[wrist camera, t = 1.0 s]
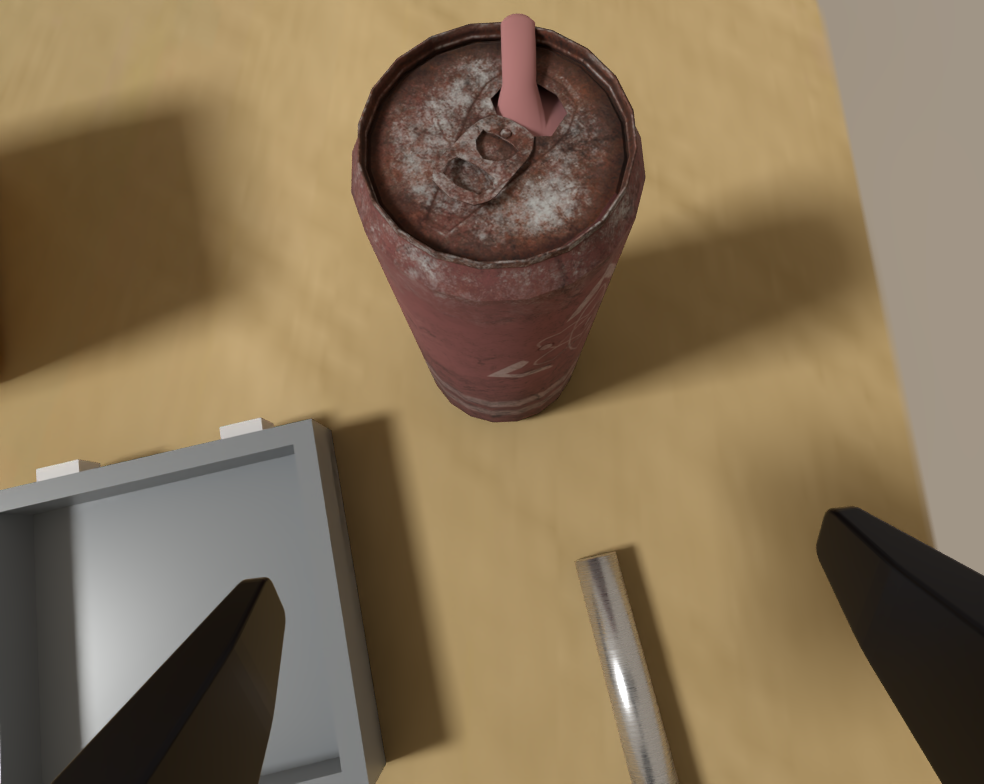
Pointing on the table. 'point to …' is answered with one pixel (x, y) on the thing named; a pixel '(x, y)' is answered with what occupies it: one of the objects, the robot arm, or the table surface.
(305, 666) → the tray
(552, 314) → the can
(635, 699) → the rod
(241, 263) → the table surface
